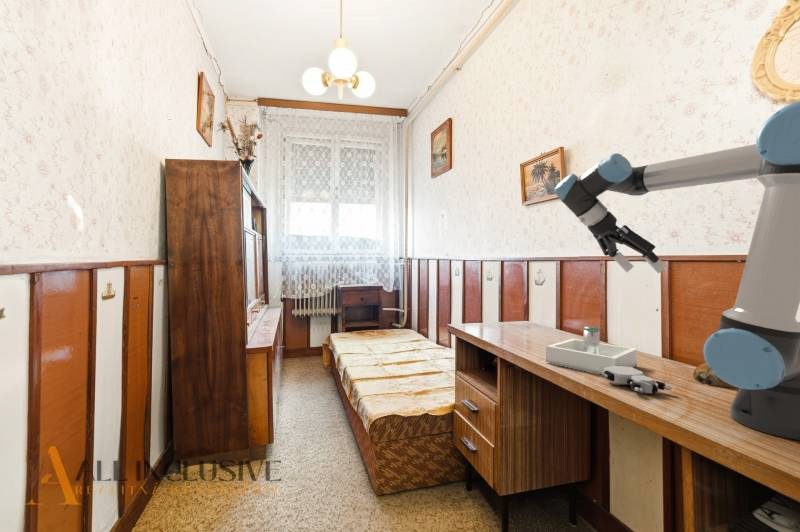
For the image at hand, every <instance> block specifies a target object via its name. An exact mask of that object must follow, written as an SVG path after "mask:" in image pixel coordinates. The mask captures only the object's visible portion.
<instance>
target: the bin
mask: <svg viewBox="0 0 800 532" xmlns="http://www.w3.org/2000/svg"><path fill="white" fill-rule="evenodd" d="M546 362H549V363H553V364H558V365H562V366H566V367H569V368H568V369H571V368H573V369H572V370H575V369H577V370H576V371H580V370H582V371H581V372H584V371H586V372H585V373H589V372H591V373H590V374H594V373H597V374H596V375H598V374H601V375H600V376H603V374H602V373H601V372H600V371H599V370H597V368H599V369H600V370H601V371H602V372H603V373H604V369H605V368H606V367H610V366H626V367H633V368H634V369H635V367H637V366H638V349H637V348H635V347H627V346H622V345H621V346H620V345H614V344H610V343H609V344H608V343H602V342H599V355H598V354H593V353H587V352H583V339H577V338H570V339H566V340H563V341H560V342H557V343H552V344H549V345H546V346H545V363H546ZM562 366H561V367H562ZM566 367H565V368H566Z"/></svg>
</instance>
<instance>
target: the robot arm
mask: <svg viewBox="0 0 800 532" xmlns="http://www.w3.org/2000/svg"><path fill="white" fill-rule="evenodd" d="M750 179H757V180H758V182H760V184H761V185H763V187H764V191H763V196H762V199H761V203H760V206H759V211H758V214H757V217H756V222H755V225H754V230H753V234H752V238H751V242H750V245H749V248H748V254H747V257H746V260H745V263H744V267H743V272H742V276H741V279H740V283H739V286H738V291H737V295H736V298H735V302H734V305H733V306H732V307H731V308H729V309H726V310H724V311H722V313H721V317H720V320H719V324H718V327H717V328H718V329H717V331H716V332H713V333H712V334H711V335H710V336H709V337H708V338H707V339H706V340H705V343H704V345H703V348H702V349H703V350H702V351H703V352H702V353H703V358H704V361H705V363H707V365H708V367H709V368H710V369H711V370H712V372H713V373H714V374H715V375H716V376H717V377H719V378H720V379H721V380H723V381H724V382H726V383H728V384H730V385H732V386H735V387H734V388H738V390H737V392H736V394H735V397H734V398H733V400H732V402H731V404H730V410H729V411H730V413H729V415H730V417H731V419H733V421H736V422H738V423H739V424H741V425H743V426H745V427H748V428H750V429H753V430H755V431H758V432H762V433H766V434H769V435H774V436H777V437H781V438H785V439H791V440H796V441H800V322H799V321H797V319H796V316H797V313H798V309H799V308H800V100H798V101H797V100H796V101H795V102H792V103H790V104H788V105H785V106H784V107H782V108H781V109H779V110H778V111H776V112H775V113H774V114H772V115H771V116H770V117H768V119H766V121H764V122H763V124H762V125H761V127H760V129H759V130H758V133H757V135H756V139H755V144H750V145H748V144H747V145H744V146H743V145H742V146H738V147H734V148H728V149H723V150H718V151H713V152H708V153H704V154H698V155H693V156H692V155H691V156H688V157H682V158H677V159H673V160H668V161H667V160H666V161H661V162H656V163H652V164H648V165H641V166H636V167H633V166H632V165H631V163H630V161H629V160H628V158H626V157H625V156H623V155H622V154H620V153H612V154H611V155H608V156H607V157H606V158H603V159H602V160H600V162H598V163H597V164H595V165H593V167H591V168H590V169H589V170H587V171H586V172H584V173H583V174H582V175H580V176H578V175H576V174H575V173H570V174H569V175H567V176H565V177H564V178H563V179H562V180H561V181H560V182H558V183H557V184H556V186H555V187H554V189H553V191H554V194H555V195H556V196H557V198H558V199H559V200H560V202H562V203H563V204H564V205H565V206H566V207H567V208H568V209H569V210H570V211H571V212H572V213H573V214H574V215H575V216H576V218H578V220H579V222H580V223H582V224H583V225H584V226H586V228H587V230H588V231H590V233H592V236H593V238H594V239H595V240H596V241H597V243H598V245H599V247H600V249H601V251H602V253H603V255H604V256H605V257H606V256H609V257H610V258H612V259H613V260H614V261H615V262H616V263H617V264H618V265H619V266H620V267H621V268H622V269H623V270H624V272H626V273H629V272H630V271H631V270H632V269H633V268H634V265H633V264H632V263H631V262H630V261H629V260H628V258H627V257H626V256H625V255H624V254H623V253H622V252H621V251H619V249H618V248H617V247H618V246H617V244H620V245H624V246H626V247H628V248H630V249H632V250H634V251H636V252H637V253H639V254H641V256H642V258H643V259H644V260H645V262H647V263H648V264H649V265H650V267H651V268H653V270H654V271H656V273H658V274H660V273H661V272H662V271H663V270H664V269H665V268H666V267H667V265H666V264H665V263H664V262H663V261H662V259H660V258H659V257H658V255H657V254H656V253H655V252H654V251H653V250H654V249H655V248H656V246H655V245H654V244H653V243H651V242H650V241H648V239H645V238H643V237H642V236H641V235H640V234H638V233H636V232H634V231H633V230H632V229H631V228H630V227H629V226H627V225H626V224H623V225H622V226H621V227H619V226H618V225H617V220H618V219H617V218H616V216H614V213H613V214H612V212H611V211H609V210H608V208H607V207H606V206H605V205H604V204H603V202H602V201H600V199H599V198H598V196H600V195H602V194H603V193H605V192H606V191H608V192H609V191H610V192H614V193H621V194H625V195H628V196H643V195H646V194H648V193H649V192H650V193H651V192H657V191H665V190H673V189H679V188H680V189H681V188H687V187H695V186H702V185H711V184H719V183H726V182H727V183H728V182H734V181H744V180H750Z"/></svg>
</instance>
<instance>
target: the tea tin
mask: <svg viewBox="0 0 800 532" xmlns="http://www.w3.org/2000/svg"><path fill="white" fill-rule="evenodd" d="M582 327H583V328H582V329H583V333H582V334H583V336H582V337H583V339H582V340H583V352H587V353H593V354H598V355H599V343H600V333H601V332H600V331H601V328H600V327H597V326H593V325H592V326H589V325H588V326H587V325H585V326H582Z"/></svg>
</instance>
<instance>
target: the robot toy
mask: <svg viewBox="0 0 800 532" xmlns="http://www.w3.org/2000/svg"><path fill="white" fill-rule="evenodd" d="M597 370H599V371H600V372H601V373H602V374H603V375H602V376H603V378H605V379H606V380H608V381H609V382H610V383H611V384H612V385H614V384H615V386H620V385H624V386H630V389H631V390H633V392H637V393H639V394H652V393H653V394H658V392H659V391H658V390H661V391H664V390H666V391H671V390H672V389H673V388H672V386H670V385H666V383H665V382H663V381H662V382H661V381H659V380H654V379H653V378H651V377H649V376H647V375H645V373H644V371H642V370H638V369H637V368H635V367H634V368H633V367H626V366H610V367H606V368H605V369H604V373H603V372H602V371H601V370H600V369H599V368H597Z"/></svg>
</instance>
